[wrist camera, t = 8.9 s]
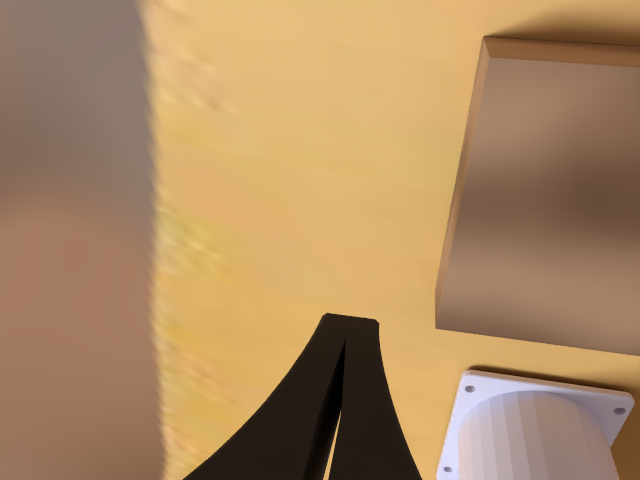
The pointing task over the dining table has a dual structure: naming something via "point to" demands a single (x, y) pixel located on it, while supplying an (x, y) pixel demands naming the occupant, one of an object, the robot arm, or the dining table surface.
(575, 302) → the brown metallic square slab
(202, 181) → the dining table surface
